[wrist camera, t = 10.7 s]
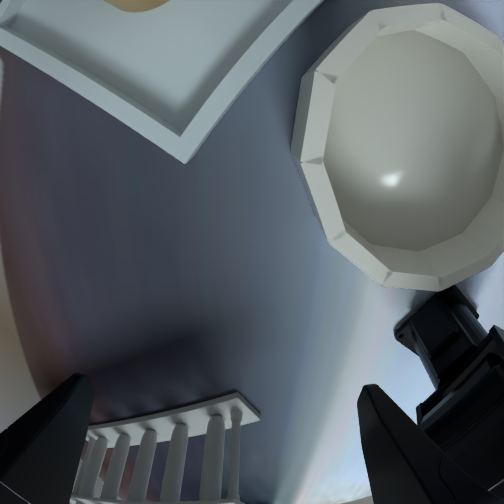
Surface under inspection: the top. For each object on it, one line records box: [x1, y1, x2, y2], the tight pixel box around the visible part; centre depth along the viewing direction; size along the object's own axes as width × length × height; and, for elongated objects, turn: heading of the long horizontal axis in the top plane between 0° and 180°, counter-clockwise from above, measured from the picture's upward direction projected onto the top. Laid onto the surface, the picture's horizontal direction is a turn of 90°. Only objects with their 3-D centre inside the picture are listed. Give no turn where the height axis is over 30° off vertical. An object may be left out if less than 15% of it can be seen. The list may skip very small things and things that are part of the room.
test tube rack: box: [70, 392, 261, 504], centre depth 24 cm, size 25×4×13 cm, turn 119°
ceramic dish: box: [290, 3, 504, 292], centre depth 15 cm, size 16×16×4 cm
